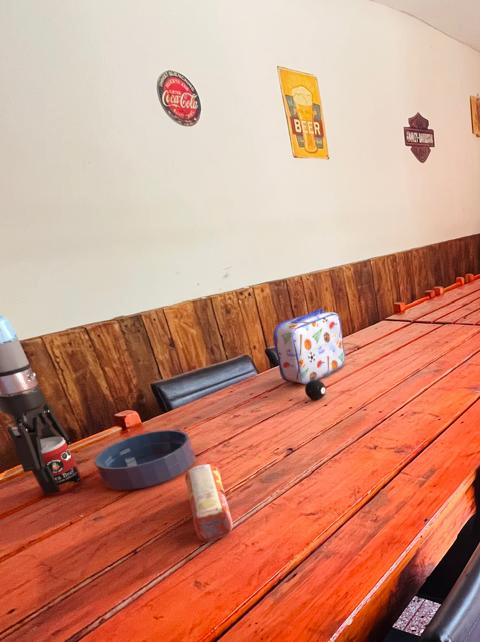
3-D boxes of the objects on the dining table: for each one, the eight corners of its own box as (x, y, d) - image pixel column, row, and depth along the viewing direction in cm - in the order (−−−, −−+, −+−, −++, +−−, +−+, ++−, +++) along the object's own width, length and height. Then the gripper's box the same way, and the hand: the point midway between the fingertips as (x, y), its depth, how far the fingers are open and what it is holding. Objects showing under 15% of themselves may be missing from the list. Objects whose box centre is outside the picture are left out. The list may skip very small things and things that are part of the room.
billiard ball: (315, 394, 162) (311, 376, 159) (331, 396, 160) (327, 378, 157) (303, 401, 157) (299, 383, 154) (319, 403, 155) (315, 384, 152)
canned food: (46, 500, 112) (24, 456, 108) (39, 488, 117) (18, 445, 112) (87, 485, 117) (68, 442, 112) (79, 474, 122) (60, 433, 117)
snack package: (237, 534, 97) (227, 504, 94) (198, 547, 94) (187, 517, 91) (224, 485, 114) (215, 459, 111) (191, 495, 111) (181, 468, 108)
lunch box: (329, 361, 192) (318, 302, 182) (352, 363, 189) (342, 303, 179) (279, 387, 169) (263, 321, 160) (305, 390, 166) (290, 323, 156)
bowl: (83, 489, 116) (73, 466, 113) (149, 449, 133) (141, 428, 130) (155, 495, 112) (145, 471, 109) (213, 453, 129) (206, 431, 126)
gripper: (12, 406, 99) (60, 503, 109) (59, 372, 118) (97, 458, 127) (-34, 413, 97) (19, 511, 107) (21, 377, 116) (62, 464, 126)
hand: (61, 482), depth 117 cm, fingers open, 9 cm apart
